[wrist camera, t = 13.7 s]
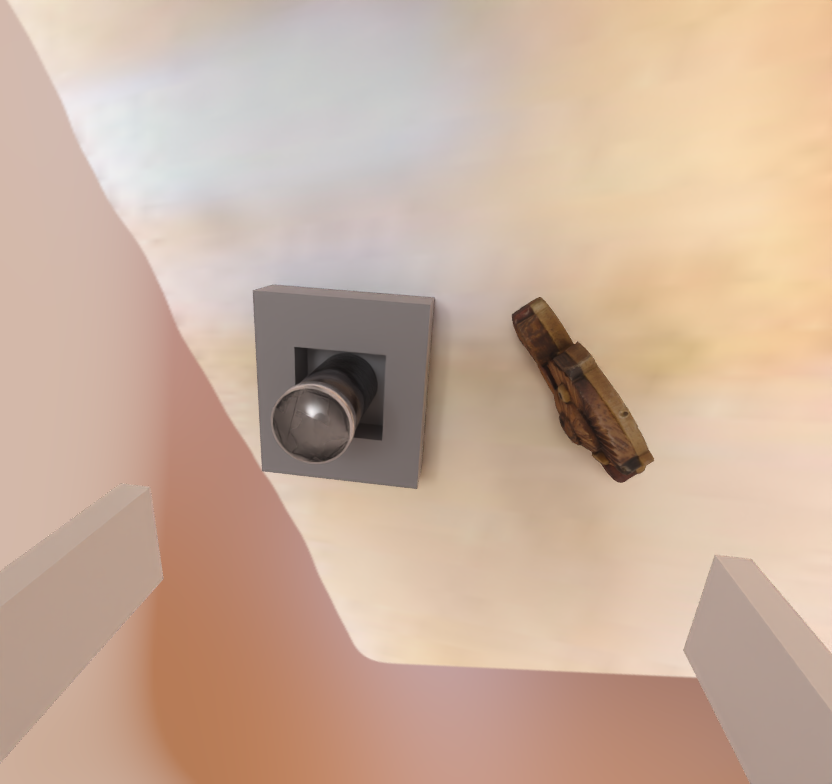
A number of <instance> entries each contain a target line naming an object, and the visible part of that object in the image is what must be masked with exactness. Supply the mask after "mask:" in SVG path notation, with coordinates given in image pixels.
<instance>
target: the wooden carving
mask: <svg viewBox="0 0 832 784" xmlns="http://www.w3.org/2000/svg"><path fill="white" fill-rule="evenodd" d="M512 321H513V325H514V328H515V331H516V333H517V335H518V337H519V339H520V341H521V342H522V344H523V345H524V346H525V347H526V349H527V350H528V351H529V353H530V354H531V356H532V357H533V359H534V360H535V361H536V362H537V364H538V367H539V369H540V371H541V373H542V375H543V377H544V379H545V380H546V382H547V384H548V386H549V388H550V389H551V391H552V393H553V394H554V399H555V403H556V408H557V410H558V413H559V415H560V416H559V420H560V423H561V426H562V428H563V430H564V432H565V433H566V434H567V436H568V437H569V438H570V439H571V441H572V442H573V443H575V444H577V445H582V446H584V447H585V448H586V449H588V450H590V451H592V456H593V457H594V458H595V459H596V460H597V461H599V462H600V463H601V464H602V466H603V467H604V469H605V470H606V472H607V473H608V474H609V475H610V476H611V477H612V478H613V479H614V480H615V481H617V482H620V483H621V482H625V481H626V480H628V479H629V478H631V477H633V476H634V475H636V474H640V473H642V472H643V471H644V470H645V467H646V465H648V464H650V463H651V462H653V461H654V458H653V456H652V454H651V453H650V451H649V450H648V447H647V445H646V442H645V440H644V438H643V436H642V434H641V432H640V430H639V429H638V426H637V424H636V422H635V420H634V419H633V417H632V415H631V413H630V412H629V410H628V408H627V407H626V406H625V404H624V403H623V401H622V399H621V398H620V396H619V395H618V393H617V392H616V390H615V389H614V388H613V386H612V385H611V384H610V382H609V381H608V379H607V378H606V377H605V375H604V374H603V372H602V371H601V370H600V369H599V367H598V366H597V364H596V362H595V360H594V358H593V357H592V356H591V354H590V353H589V352H588V351H587V350H586V349H585V348H584V347H583V346H582V345H581V344H580V343H579V342H577V343H576V344H573V342H572V340H571V338H570V337H569V335H568V333H567V332H566V330H565V328H564V327H563V325H562V324H561V322H560V321H559V319H558V318H557V316H556V315H555V313H554V312H553V311H552V309H551V308H550V307H549V306H548V304H547V303H546V302H545V301H544V300H543V299H542V298H541V297H539V298H536V299H535V300H533V301H531V302H530V303H528V304H527V305H525V306H523V307H522V308H520V309H519V310H518V311H516V312H515V313H514V314H512Z"/></svg>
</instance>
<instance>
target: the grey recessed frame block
mask: <svg viewBox="0 0 832 784" xmlns="http://www.w3.org/2000/svg"><path fill="white" fill-rule="evenodd" d="M253 303H254V323H255V342H256V361H257V381H258V400H259V419H260V439H261V458H262V471H265V472H274V473H283V474H292V475H300V476H309V477H318V478H327V479H335V480H344V481H353V482H361V483H370V484H379V485H388V486H396V487H405V488H414V489H417V487H418V482H419V478H420V473H421V468H422V457H423V443H424V430H425V417H426V403H427V390H428V377H429V364H430V350H431V337H432V324H433V311H434V297H421V296H409V295H396V294H383V293H371V292H358V291H346V290H333V289H321V288H308V287H296V286H283V285H270V286H267V287H263V288H260V289H256V290H253ZM338 353H352V354H355V355H358V356H360V357H361V358H363V359H364V360H366V361H367V362H368V363H369V364H370V365H371V367H372V368H373V370H374V372H375V374H376V377H377V392H376V395H375V397H374V399H373V401H372V402H371V404H370V406H369V407H368V409H367V411H366V413H365V414H364V416H363V418H362V419H361V421H360V423H359V424H358V426H357V428H356V431H355V434H354V437H353V439H352V441H351V442H350V444H349V446H348V448H347V449H346V450H345V452H344V453H343V454H342V455H341V456H339V457H338V458H337V459H335V460H333V461H330V462H328V463H323V464H310V463H305V462H302V461H299V460H297V459H295V458H293V457H292V456H290V455H289V454H287V453H286V452H285V451H284V450H283V449H282V448H281V447H280V445H279V444H278V443H277V441H276V439H275V437H274V435H273V432H272V428H271V414H272V410H273V407H274V405H275V403H276V402H277V400H278V399H279V398H280V397H281V396H282V395H283V394H284V393H285V392H286V391H288V390H289V389H290V388H291V387H293V386H295V385H297V384H299V383H300V382H301V381H302V380H303V379H305V378H306V377H307V376H308V375H309V374H310V373H311V372H312V371H314V370H315V369H316V368H317V367H318V366H319V365H320V364H322V363H323V362H324V361H325V360H326V359H327V358H329V357H330V356H332V355H335V354H338Z"/></svg>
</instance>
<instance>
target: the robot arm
mask: <svg viewBox="0 0 832 784" xmlns="http://www.w3.org/2000/svg"><path fill="white" fill-rule="evenodd" d="M162 579H163V573H162V566H161V559H160V552H159V545H158V538H157V531H156V524H155V517H154V510H153V503H152V496H151V489H150V487H146V486H138V485H129V484H119V485H118V486H116V487H115V488H114V489H112V490H111V491H110V492H108V493H107V494H105V495H104V496H103V497H101V498H100V499H99V500H97V501H96V502H94V503H93V504H92V505H90V506H89V507H87V508H86V509H85V510H83V511H82V512H81V513H79V514H78V515H76V516H75V517H74V518H72V519H71V520H70V521H68V522H67V523H65V524H64V525H63V526H61V527H60V528H59V529H57V530H56V531H54V532H53V533H52V534H50V535H49V536H48V537H46V538H45V539H43V540H42V541H41V542H39V543H38V544H36V545H35V546H34V547H32V548H31V549H29V550H28V551H27V552H25V553H24V554H23V555H21V556H20V557H19V558H17V559H16V560H14V561H13V562H12V563H10V564H9V565H7V566H6V567H5V568H3V569H2V570H1V571H0V763H1V762H2V761H3V760H4V759H5V758H6V757H7V755H8V754H9V753H10V752H11V751H12V750H13V749H14V747H15V746H16V745H17V744H18V743H19V742H20V740H22V738H23V737H24V736H25V735H26V734H27V733H28V732H29V730H30V729H31V728H32V727H33V726H34V725H35V723H37V721H38V720H39V719H40V718H41V717H42V716H43V715H44V713H45V712H46V711H47V710H48V709H49V708H50V707H51V706H52V704H53V703H54V702H55V701H56V700H57V699H58V697H59V696H60V695H61V694H62V693H63V692H64V691H65V690H66V688H67V687H68V686H69V685H70V684H71V683H72V682H73V681H74V679H75V678H76V677H77V676H78V675H79V674H80V673H81V672H82V670H83V669H84V668H85V667H86V666H87V665H88V664H89V662H90V661H91V660H92V659H93V658H94V657H95V656H96V655H97V653H98V652H99V651H100V650H101V649H102V648H103V647H104V645H105V644H106V643H107V642H108V641H109V640H110V639H111V638H112V636H113V635H114V634H115V633H116V632H117V631H118V630H119V628H120V627H121V626H122V625H123V624H124V623H125V622H126V621H127V619H128V618H129V617H130V616H131V615H132V614H133V613H134V611H135V610H136V609H137V608H138V607H139V606H140V605H141V603H142V602H143V601H144V600H145V599H146V598H147V597H148V596H149V594H150V593H151V592H152V591H153V590H154V589H155V588H156V586H157V585H158V584H159V583H160V582H161V581H162ZM684 652H685V654H686V656H687V658H688V660H689V662H690V664H691V666H692V668H693V670H694V672H695V674H696V676H697V678H698V680H699V682H700V684H701V686H702V688H703V690H704V692H705V694H706V696H707V698H708V700H709V702H710V704H711V706H712V708H713V710H714V712H715V714H716V716H717V718H718V720H719V722H720V724H721V726H722V728H723V730H724V732H725V734H726V736H727V738H728V740H729V742H730V744H731V746H732V748H733V750H734V752H735V754H736V756H737V758H738V760H739V762H740V764H741V766H742V768H743V770H744V772H745V774H746V776H747V778H748V780H749V782H750V784H832V654H831V652H830V651H829V650H828V649H827V648H826V646H825V645H824V644H823V643H822V642H821V641H820V639H819V638H818V637H817V636H816V635H815V633H814V632H813V631H812V630H811V629H810V628H809V626H808V625H807V624H806V623H805V622H804V620H803V619H802V618H801V617H800V616H799V615H798V613H797V612H796V611H795V610H794V609H793V607H792V606H791V605H790V604H789V603H788V602H787V600H786V599H785V598H784V597H783V596H782V594H781V593H780V592H779V591H778V590H777V589H776V587H775V586H774V585H773V584H772V583H771V581H770V580H769V579H768V578H767V577H766V576H765V574H764V573H763V572H762V571H761V570H760V568H759V567H758V566H757V565H756V564H755V563H754V561H753V560H752V559H746V558H737V557H729V556H721V555H715V556H714V559H713V562H712V565H711V568H710V571H709V574H708V577H707V580H706V583H705V586H704V589H703V592H702V595H701V598H700V601H699V604H698V607H697V610H696V613H695V617H694V620H693V623H692V626H691V629H690V632H689V635H688V638H687V641H686V644H685V647H684Z"/></svg>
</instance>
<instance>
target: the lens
mask: <svg viewBox="0 0 832 784" xmlns="http://www.w3.org/2000/svg"><path fill="white" fill-rule="evenodd" d="M376 392H377V377H376V374H375V372H374V370H373V368H372V367H371V365H370V364H369V363H368V362H367V361H366V360H364V359H363V358H361V357H360V356H358V355H355V354H352V353H338V354H335V355H332V356H330V357H329V358H327V359H326V360H325V361H324V362H323V363H322V364H320V365H319V366H318V367H317V368H316V369H315V370H314V371H312V372H311V373H310V374H309V375H308V376H307V377H306V378H305V379H303V380H302V381H301V382H300V383H299V384H297V385H295V386H293V387H291V388H290V389H289V390H288V391H286V392H285V393H284V394H283V395H282V396H281V397H280V398H279V399H278V400H277V402H276V403H275V405H274V407H273V410H272V414H271V428H272V432H273V435H274V437H275V439H276V441H277V443H278V444H279V445H280V447H281V448H282V449H283V450H284V451H285V452H286V453H287V454H289V455H290V456H292V457H293V458H295V459H297V460H299V461H302V462H305V463H310V464H323V463H328V462H330V461H333V460H335V459H337V458H338V457H339V456H341V455H342V454H343V453H344V452H345V450H346V449H347V448H348V446H349V444H350V442H351V441H352V439H353V437H354V434H355V431H356V428H357V426H358V424H359V423H360V421H361V419H362V418H363V416H364V414H365V413H366V411H367V409H368V407H369V406H370V404H371V402H372V401H373V399H374V397H375V395H376Z"/></svg>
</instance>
